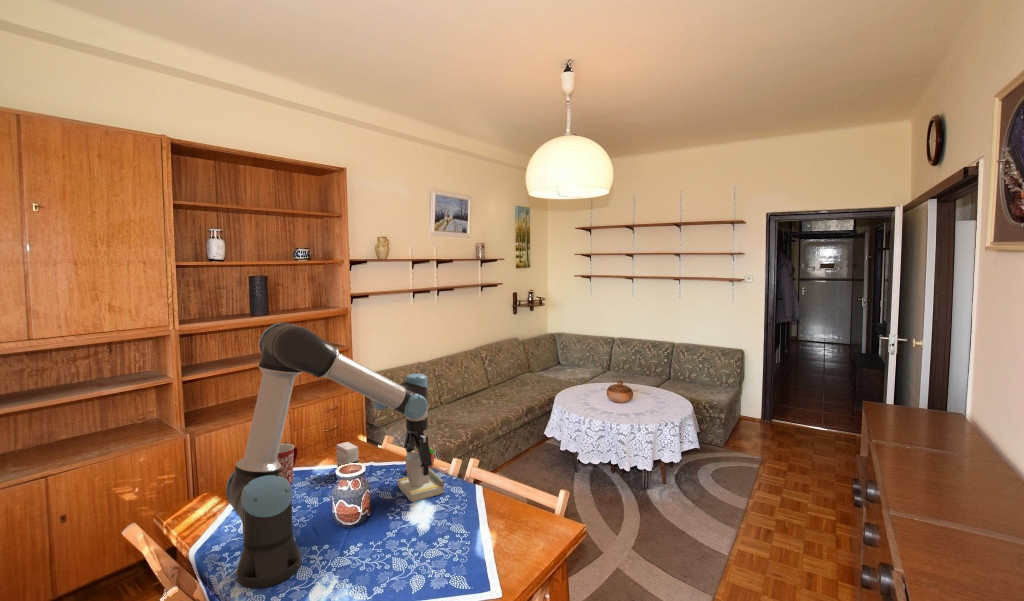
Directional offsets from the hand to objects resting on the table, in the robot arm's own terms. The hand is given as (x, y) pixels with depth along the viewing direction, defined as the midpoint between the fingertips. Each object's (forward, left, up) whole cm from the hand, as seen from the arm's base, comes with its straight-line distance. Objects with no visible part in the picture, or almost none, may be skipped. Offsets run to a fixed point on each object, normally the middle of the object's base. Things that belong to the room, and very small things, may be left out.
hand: (417, 476), depth 173 cm
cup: (0, 0, -3) cm, 3 cm away
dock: (0, -1, -5) cm, 5 cm away
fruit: (+15, -8, -5) cm, 18 cm away
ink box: (+26, +18, -5) cm, 32 cm away
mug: (+33, +39, -5) cm, 51 cm away
